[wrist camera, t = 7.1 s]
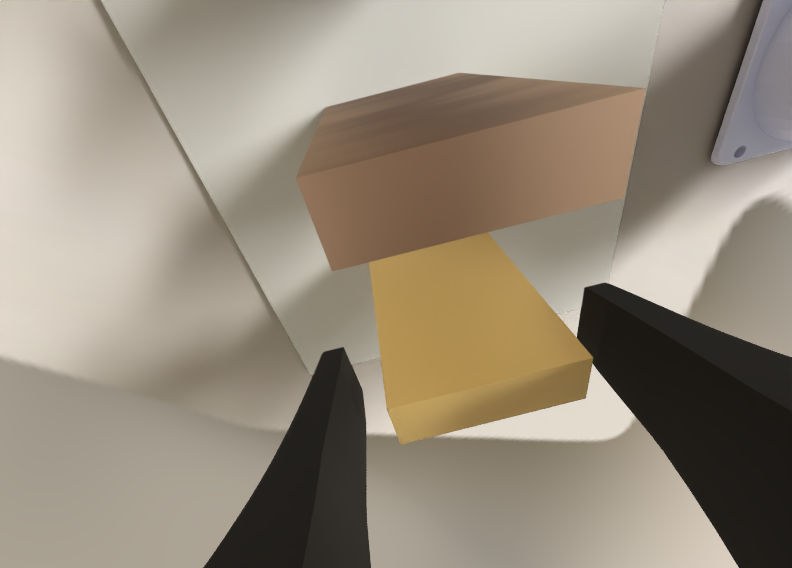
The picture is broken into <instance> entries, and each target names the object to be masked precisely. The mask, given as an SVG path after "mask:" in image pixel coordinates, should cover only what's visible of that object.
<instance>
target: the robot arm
mask: <svg viewBox="0 0 792 568" xmlns="http://www.w3.org/2000/svg"><path fill="white" fill-rule="evenodd" d="M791 148H792V0H763V2H762V5H761V8H760V11H759V14H758V17H757V20H756V23H755V26H754V29H753V32H752V35H751V38H750V41H749V44H748V47H747V50H746V53H745V56H744V59H743V62H742V65H741V68H740V71H739V74H738V77H737V80H736V83H735V86H734V89H733V92H732V95H731V98H730V101H729V104H728V107H727V110H726V113H725V116H724V119H723V122H722V125H721V128H720V131H719V134H718V137H717V140H716V143H715V146H714V149H713V152H712V156H711V161H712V163H714V164H717V165H727V164H731V163H735V162H739V161H743V160H747V159H751V158H755V157H759V156H763V155H767V154H771V153H775V152H779V151H783V150H787V149H791ZM735 151H736V152H735ZM577 339H578V340H579V341H580V343H581V344H582V345H583V346H584V347H585V348H586V350H587V351H588V352H589V353H590V354H591V356H592V357H593V362H592V363H593V364H594V366H595V367H596V369H597V370H598V371H599V372H600V374H601V375H602V376H603V377H604V379H605V380H606V381H607V382H608V384H609V385H610V386H611V387H612V388H613V390H614V391H615V392H616V393H617V395H618V396H619V397H620V398H621V399H622V401H623V402H624V403H625V404H626V405H627V407H628V408H629V409H630V410H631V412H632V413H633V414H634V415H635V416H636V418H637V419H638V420H639V421H640V422H641V424H642V425H643V426H644V427H645V428H646V430H647V431H648V432H649V433H650V435H651V436H652V437H653V438H654V440H655V441H656V442H657V444H658V445H659V446H660V447H661V449H662V450H663V451H664V453H665V454H666V456H667V457H668V459H669V460H670V461H671V463H672V464H673V466H674V467H675V469H676V470H677V472H678V473H679V475H680V476H681V477H682V479H683V480H684V482H685V483H686V485H687V486H688V487H689V489H690V491H691V492H692V494H693V495H694V497H695V498H696V500H697V501H698V503H699V505H700V506H701V508H702V509H703V511H704V512H705V514H706V515H707V517H708V518H709V520H710V522H711V523H712V525H713V526H714V528H715V529H716V531H717V533H718V534H719V536H720V537H721V539H722V541H723V542H724V544H725V546H726V547H727V549H728V550H729V552H730V554H731V555H732V557H733V559H734V560H735V562H736V564H737V565H738V567H739V568H792V357H789V356H786V355H783V354H780V353H777V352H774V351H771V350H769V349H766V348H763V347H760V346H757V345H755V344H752V343H750V342H747V341H744V340H742V339H739V338H737V337H734V336H731V335H728V334H726V333H724V332H721V331H718V330H716V329H714V328H711V327H709V326H706V325H704V324H701V323H699V322H697V321H694V320H692V319H689V318H687V317H685V316H682V315H680V314H678V313H675V312H673V311H671V310H669V309H666V308H664V307H662V306H659V305H657V304H655V303H653V302H650V301H648V300H646V299H643V298H641V297H639V296H637V295H634V294H632V293H630V292H627V291H625V290H623V289H620V288H618V287H616V286H613V285H611V284H608V283H600V284H596V285H592V286H588V287H584V293H583V300H582V306H581V313H580V320H579V326H578V333H577ZM366 509H367V508H366V417H365V408H364V400H363V391H362V388H361V386H360V383H359V381H358V379H357V376H356V374H355V372H354V370H353V367H352V365H351V363H350V360H349V358H348V356H347V353H346V351H345V349H344V347H341V348H337V349H333V350H329V351H325V352H323V353H322V355H321V357H320V360H319V362H318V365H317V367H316V370H315V372H314V374H313V377H312V379H311V382H310V384H309V386H308V389H307V391H306V393H305V396H304V398H303V400H302V402H301V404H300V406H299V408H298V411H297V413H296V415H295V417H294V419H293V421H292V423H291V425H290V427H289V429H288V431H287V433H286V435H285V437H284V439H283V441H282V443H281V445H280V447H279V449H278V450H277V452H276V454H275V456H274V458H273V460H272V462H271V464H270V465H269V467H268V469H267V471H266V472H265V474H264V476H263V477H262V479H261V481H260V483H259V485H258V486H257V488H256V489H255V491H254V493H253V494H252V496H251V497H250V499H249V501H248V502H247V504H246V505H245V507H244V509H243V510H242V512H241V513H240V515H239V516H238V518H237V519H236V521H235V522H234V524H233V525H232V527H231V528H230V530H229V532H228V533H227V534H226V536H225V538H224V539H223V540H222V542H221V543H220V545H219V546H218V548H217V549H216V551H215V552H214V554H213V555H212V556H211V558H210V559H209V561H208V562H207V563H206V565H205V566H204V567H203V568H371V563H370V552H369V540H368V528H367V510H366Z"/></svg>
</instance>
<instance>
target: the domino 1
mask: <svg viewBox="0 0 792 568" xmlns="http://www.w3.org/2000/svg"><path fill="white" fill-rule="evenodd" d="M645 90H646V88H638V87H626V86H614V85H602V84H590V83H578V82H566V81H554V80H542V79H530V78H517V77H505V76H493V75H481V74H469V73H456V74H452V75H448V76H444V77H440V78H436V79H433V80H429V81H425V82H421V83H417V84H413V85H409V86H406V87H402V88H398V89H394V90H390V91H386V92H382V93H379V94H375V95H371V96H367V97H363V98H359V99H355V100H352V101H348V102H344V103H340V104H336V105H332V106H328V107H326V108H325V111H324V113H323V115H322V118H321V120H320V122H319V125H318V127H317V129H316V132H315V134H314V136H313V139H312V141H311V143H310V146H309V148H308V150H307V153H306V155H305V157H304V160H303V162H302V164H301V167H300V169H299V171H298V174H297V176H296V180H297V183H298V185H299V188H300V190H301V193H302V196H303V198H304V201H305V203H306V206H307V208H308V211H309V214H310V216H311V219H312V221H313V224H314V226H315V229H316V232H317V234H318V237H319V239H320V242H321V244H322V247H323V250H324V252H325V255H326V257H327V260H328V262H329V265H330V268H331V270H332V271H336V270H340V269H344V268H348V267H352V266H356V265H360V264H364V263H368V262H372V261H376V260H380V259H384V258H388V257H392V256H396V255H400V254H404V253H408V252H412V251H416V250H420V249H424V248H427V247H431V246H435V245H439V244H443V243H447V242H451V241H455V240H459V239H463V238H467V237H471V236H475V235H479V234H483V233H487V232H491V231H495V230H499V229H503V228H507V227H511V226H515V225H519V224H522V223H526V222H530V221H534V220H538V219H542V218H546V217H550V216H554V215H558V214H562V213H566V212H570V211H574V210H578V209H582V208H586V207H590V206H594V205H598V204H602V203H606V202H610V201H614V200H617V199H621V198H624V196H625V191H626V186H627V181H628V176H629V170H630V165H631V160H632V155H633V150H634V145H635V140H636V135H637V130H638V125H639V120H640V115H641V110H642V105H643V100H644V95H645Z"/></svg>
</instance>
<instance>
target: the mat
mask: <svg viewBox="0 0 792 568" xmlns="http://www.w3.org/2000/svg"><path fill="white" fill-rule="evenodd" d="M101 2H102V4H103V5H104V7H105V9H106V11H107V12H108V14H109V16H110V18H111V20H112V21H113V23H114V25H115V27H116V29H117V30H118V32H119V34H120V36H121V38H122V39H123V41H124V43H125V45H126V46H127V48H128V50H129V52H130V54H131V55H132V57H133V59H134V61H135V63H136V64H137V66H138V68H139V70H140V72H141V73H142V75H143V77H144V79H145V80H146V82H147V84H148V86H149V88H150V89H151V91H152V93H153V95H154V97H155V98H156V100H157V102H158V104H159V106H160V107H161V109H162V111H163V113H164V114H165V116H166V118H167V120H168V122H169V123H170V125H171V127H172V129H173V131H174V132H175V134H176V136H177V138H178V140H179V141H180V143H181V145H182V147H183V148H184V150H185V152H186V154H187V156H188V157H189V159H190V161H191V163H192V165H193V166H194V168H195V170H196V172H197V174H198V175H199V177H200V179H201V181H202V183H203V184H204V186H205V188H206V190H207V191H208V193H209V195H210V197H211V199H212V200H213V202H214V204H215V206H216V208H217V209H218V211H219V213H220V215H221V217H222V218H223V220H224V222H225V224H226V225H227V227H228V229H229V231H230V233H231V234H232V236H233V238H234V240H235V242H236V243H237V245H238V247H239V249H240V251H241V252H242V254H243V256H244V258H245V259H246V261H247V263H248V265H249V267H250V268H251V270H252V272H253V274H254V276H255V277H256V279H257V281H258V283H259V285H260V286H261V288H262V290H263V292H264V293H265V295H266V297H267V299H268V301H269V302H270V304H271V306H272V308H273V310H274V311H275V313H276V315H277V317H278V319H279V320H280V322H281V324H282V326H283V327H284V329H285V331H286V333H287V335H288V336H289V338H290V340H291V342H292V344H293V345H294V347H295V349H296V351H297V353H298V354H299V356H300V358H301V360H302V361H303V363H304V365H305V367H306V369H307V370H308V372H309V374H310V375H313V374H314V372H315V370H316V367H317V365H318V362H319V360H320V357H321V355H322V353H323V352H325V351H329V350H333V349H337V348H341V347H344V349H345V351H346V353H347V356H348V358H349V360H350V363H351V365H354V364H358V363H362V362H366V361H370V360H374V359H378V358H381V357H380V348H379V340H378V332H377V324H376V316H375V307H374V299H373V291H372V283H371V274H370V266H369V262H368V263H364V264H360V265H356V266H352V267H348V268H344V269H340V270H336V271H332V270H331V268H330V265H329V262H328V260H327V257H326V255H325V252H324V250H323V247H322V244H321V242H320V239H319V237H318V234H317V232H316V229H315V226H314V224H313V221H312V219H311V216H310V214H309V211H308V208H307V206H306V203H305V201H304V198H303V196H302V193H301V190H300V188H299V185H298V183H297V180H296V176H297V174H298V171H299V169H300V167H301V164H302V162H303V160H304V157H305V155H306V153H307V150H308V148H309V146H310V143H311V141H312V139H313V136H314V134H315V132H316V129H317V127H318V125H319V122H320V120H321V118H322V115H323V113H324V111H325V108H326V107H328V106H332V105H336V104H340V103H344V102H348V101H352V100H355V99H359V98H363V97H367V96H371V95H375V94H379V93H382V92H386V91H390V90H394V89H398V88H402V87H406V86H409V85H413V84H417V83H421V82H425V81H429V80H433V79H436V78H440V77H444V76H448V75H452V74H456V73H469V74H481V75H493V76H505V77H517V78H530V79H542V80H554V81H566V82H578V83H590V84H602V85H614V86H626V87H638V88H646V90H645V95H644V100H643V105H642V110H641V115H640V120H639V125H638V130H637V135H636V140H635V145H634V150H633V155H632V160H631V165H630V170H629V176H628V181H627V186H626V191H625V196H624V198H621V199H617V200H614V201H610V202H606V203H602V204H598V205H594V206H590V207H586V208H582V209H578V210H574V211H570V212H566V213H562V214H558V215H554V216H550V217H546V218H542V219H538V220H534V221H530V222H526V223H522V224H519V225H515V226H511V227H507V228H503V229H499V230H495V231H491V232H488V233H489V235H490V236H491V237H492V238H493V239H494V241H495V242H496V243H497V244H498V245H499V247H500V248H501V249H502V250H503V251H504V252H505V254H506V255H507V256H508V257H509V258H510V260H511V261H512V262H513V263H514V264H515V265H516V267H517V268H518V269H519V270H520V271H521V273H522V274H523V275H524V276H525V277H526V279H527V280H528V281H529V282H530V283H531V284H532V286H533V287H534V288H535V289H536V290H537V292H538V293H539V294H540V295H541V296H542V297H543V299H544V300H545V301H546V302H547V303H548V305H549V306H550V307H551V308H552V309H553V311H554V312H555V313H556V314H559V313H563V312H567V311H571V310H575V309H579V308H581V306H582V300H583V293H584V287H588V286H592V285H596V284H600V283H608V282H609V277H610V272H611V267H612V262H613V257H614V252H615V247H616V242H617V237H618V232H619V227H620V222H621V217H622V212H623V207H624V202H625V197H626V192H627V187H628V182H629V177H630V172H631V167H632V162H633V157H634V152H635V147H636V142H637V137H638V132H639V127H640V123H641V118H642V113H643V108H644V103H645V98H646V93H647V88H648V83H649V78H650V73H651V68H652V63H653V58H654V53H655V48H656V43H657V38H658V33H659V28H660V23H661V18H662V13H663V8H664V3H665V0H101Z"/></svg>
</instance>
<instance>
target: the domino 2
mask: <svg viewBox="0 0 792 568" xmlns="http://www.w3.org/2000/svg"><path fill="white" fill-rule="evenodd" d="M369 266H370V274H371V283H372V291H373V299H374V307H375V316H376V324H377V332H378V340H379V348H380V357H381V365H382V373H383V381H384V389H385V398H386V406H387V411H388V414H389V416H390V418H391V421H392V423H393V426H394V428H395V431H396V433H397V436H398V438H399V440H400V443H401V444H404V443H409V442H413V441H417V440H420V439H425V438H429V437H433V436H437V435H441V434H445V433H449V432H453V431H457V430H461V429H465V428H469V427H473V426H477V425H481V424H485V423H489V422H493V421H497V420H501V419H505V418H509V417H513V416H517V415H521V414H525V413H529V412H533V411H537V410H541V409H545V408H549V407H553V406H557V405H561V404H565V403H569V402H573V401H577V400H581V399H585V398H586V394H587V388H588V383H589V378H590V372H591V367H592V362H593V357H592V356H591V354H590V353H589V352H588V351H587V350H586V348H585V347H584V346H583V345H582V344H581V343H580V341H579V340H578V339H577V338H576V337H575V335H574V334H573V333H572V332H571V331H570V329H569V328H568V327H567V326H566V325H565V324H564V322H563V321H562V320H561V319H560V318H559V316H558V315H557V314H556V313H555V312H554V311H553V309H552V308H551V307H550V306H549V305H548V303H547V302H546V301H545V300H544V299H543V297H542V296H541V295H540V294H539V293H538V292H537V290H536V289H535V288H534V287H533V286H532V284H531V283H530V282H529V281H528V280H527V279H526V277H525V276H524V275H523V274H522V273H521V271H520V270H519V269H518V268H517V267H516V265H515V264H514V263H513V262H512V261H511V260H510V258H509V257H508V256H507V255H506V254H505V252H504V251H503V250H502V249H501V248H500V247H499V245H498V244H497V243H496V242H495V241H494V239H493V238H492V237H491V236H490V235H489V233H488V232H487V233H483V234H479V235H475V236H471V237H467V238H463V239H459V240H455V241H451V242H447V243H443V244H439V245H435V246H431V247H427V248H424V249H420V250H416V251H412V252H408V253H404V254H400V255H396V256H392V257H388V258H384V259H380V260H376V261H372V262H369Z"/></svg>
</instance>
